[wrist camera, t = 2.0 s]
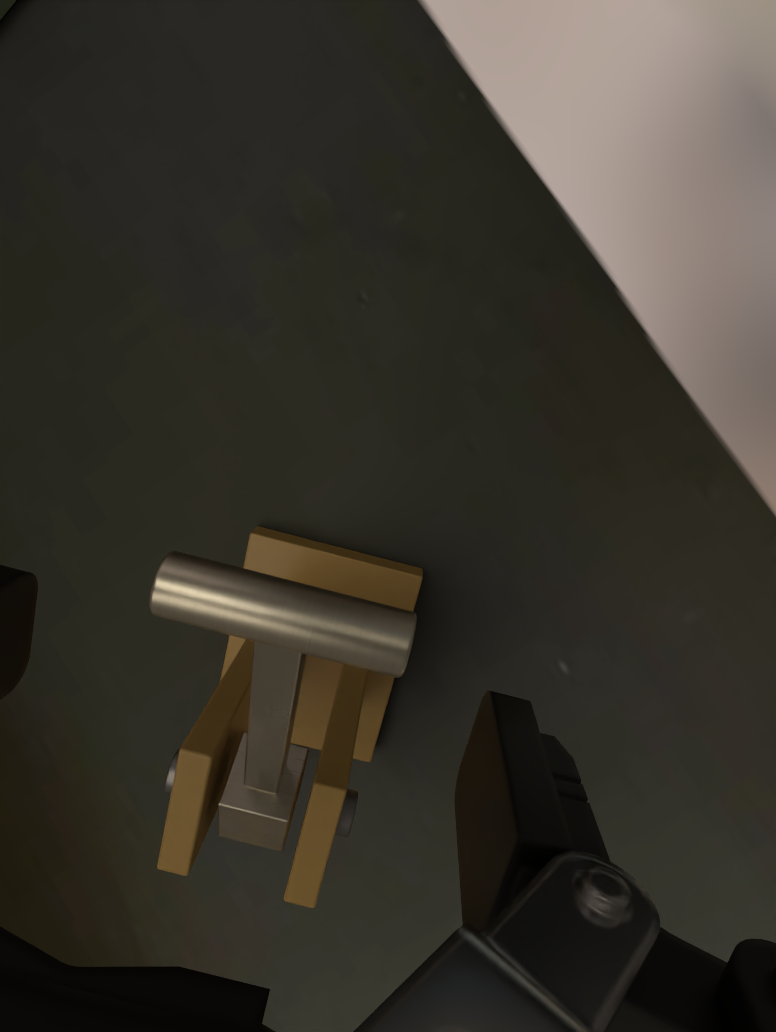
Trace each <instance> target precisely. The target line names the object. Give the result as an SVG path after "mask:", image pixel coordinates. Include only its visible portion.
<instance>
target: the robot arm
mask: <svg viewBox="0 0 776 1032" xmlns="http://www.w3.org/2000/svg"><path fill="white" fill-rule="evenodd" d="M37 590H38V583H37V579H36V576H35V575H34V574H33V573H30V572H26V571H22V570H18V569H14V568H10V567H6V566H2V565H0V700H1V699H2V698H4V697H5V696H6V695H7V694H8V693H10V692H11V691H12V690H13V689H14V688H15V686H16V685H17V684H18V682H19V681H20V679H21V678H22V676H23V674H24V672H25V669H26V667H27V664H28V661H29V657H30V650H31V642H32V633H33V625H34V616H35V608H36V599H37ZM587 799H588V798H587V795H586V792H585V790H584V787H583V785H582V784H581V779H580V776H579V773H578V770H577V767H576V765H575V762H574V759H573V758H572V756H571V755H570V754H569V753H568V752H567V751H566V749H565V748H564V747H563V746H562V745H561V744H560V742H559V741H558V740H557V739H556V738H555V737H554V736H550V735H546V734H542V733H540V732H539V728H538V725H537V721H536V718H535V715H534V711H533V708H532V705H531V702H530V701H528V700H524V699H520V698H516V697H512V696H509V695H505V694H501V693H497V692H493V691H487V692H486V693H485V695H484V696H483V699H482V701H481V704H480V707H479V710H478V713H477V716H476V719H475V722H474V725H473V728H472V731H471V734H470V738H469V741H468V744H467V747H466V750H465V753H464V756H463V759H462V762H461V765H460V769H459V773H458V777H457V783H456V790H455V815H456V830H457V845H458V860H459V875H460V890H461V904H462V919H463V925H462V926H461V927H460V928H458V929H457V930H456V931H455V932H454V933H453V934H452V935H451V936H450V937H449V938H448V939H447V940H446V941H445V942H444V943H443V944H442V945H441V946H440V947H439V948H438V949H437V950H436V951H435V952H434V953H433V954H432V955H430V956H429V957H428V958H427V959H426V960H425V961H424V962H423V963H422V964H421V965H420V966H419V967H418V968H417V969H416V970H415V971H414V972H413V973H412V974H411V975H410V976H409V977H408V978H407V979H406V980H405V981H404V982H403V983H402V984H401V985H400V986H399V987H398V988H397V989H396V990H395V991H394V992H393V993H392V994H391V995H390V996H389V997H388V998H387V999H386V1000H385V1001H384V1002H383V1003H382V1004H381V1005H380V1006H379V1007H378V1008H377V1009H376V1010H375V1011H374V1012H373V1013H372V1014H371V1015H370V1016H369V1017H368V1018H367V1019H366V1020H365V1021H364V1022H363V1023H362V1024H361V1025H360V1026H359V1027H358V1028H357V1029H356V1030H355V1031H353V1032H776V943H774V942H771V941H767V940H762V939H747V940H744V941H741V942H740V943H739V944H738V945H737V946H736V947H735V949H734V951H733V953H732V955H731V957H730V959H729V961H728V963H727V962H725V961H723V960H721V959H719V958H717V957H715V956H713V955H711V954H709V953H707V952H705V951H703V950H701V949H699V948H697V947H695V946H693V945H691V944H689V943H687V942H685V941H683V940H681V939H680V938H678V937H676V936H674V935H672V934H671V933H669V932H667V931H666V930H664V929H663V928H661V927H660V919H659V914H658V911H657V909H656V906H655V904H654V903H653V901H652V899H651V898H650V896H649V895H648V893H647V892H646V891H645V889H644V888H643V887H642V886H641V885H640V884H639V883H638V882H637V881H636V880H635V879H634V878H633V877H632V876H631V875H629V874H628V873H627V872H626V871H624V870H623V869H622V868H620V867H618V866H617V865H615V864H614V863H612V862H610V859H609V856H608V854H607V851H606V848H605V845H604V842H603V840H602V837H601V834H600V831H599V829H598V826H597V823H596V820H595V817H594V815H593V812H592V809H591V806H590V804H589V803H587ZM269 991H270V989H267V988H263V987H259V986H255V985H251V984H247V983H243V982H239V981H235V980H231V979H227V978H223V977H219V976H215V975H211V974H207V973H203V972H198V971H194V970H190V969H186V968H182V967H75V966H70V965H67V964H64V963H62V962H60V961H59V960H57V959H55V958H53V957H52V956H50V955H48V954H47V953H45V952H43V951H41V950H40V949H38V948H36V947H34V946H33V945H31V944H29V943H28V942H26V941H24V940H22V939H21V938H19V937H17V936H16V935H14V934H12V933H10V932H9V931H7V930H5V929H4V928H2V927H0V1032H275V1031H273V1030H272V1029H270V1028H268V1027H267V1026H265V1025H263V1024H262V1021H263V1017H264V1012H265V1008H266V1004H267V1000H268V996H269Z"/></svg>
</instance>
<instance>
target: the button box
mask: <svg viewBox="0 0 776 1032" xmlns="http://www.w3.org/2000/svg"><path fill="white" fill-rule="evenodd" d="M15 2H16V0H0V20H1V19H2V18H3V16H4V15H5V14H6V13H7V11H8V10H9V9H10V8H11V6H12V5H13V4H14V3H15Z"/></svg>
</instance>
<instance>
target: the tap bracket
mask: <svg viewBox="0 0 776 1032" xmlns="http://www.w3.org/2000/svg"><path fill="white" fill-rule="evenodd" d="M243 568H244V569H248V570H252V571H256V572H260V573H264V574H268V575H272V576H276V577H279V578H283V579H287V580H291V581H295V582H299V583H303V584H307V585H311V586H315V587H318V588H322V589H326V590H330V591H334V592H338V593H342V594H346V595H350V596H354V597H358V598H361V599H365V600H369V601H373V602H377V603H381V604H385V605H389V606H393V607H397V608H401V609H404V610H408V611H412V612H413V611H414V608H415V604H416V601H417V597H418V594H419V590H420V587H421V583H422V580H423V569H422V568H418V567H414V566H410V565H407V564H403V563H399V562H395V561H391V560H387V559H383V558H379V557H375V556H372V555H368V554H364V553H360V552H356V551H352V550H348V549H344V548H340V547H336V546H333V545H329V544H325V543H321V542H317V541H313V540H309V539H305V538H301V537H298V536H294V535H290V534H286V533H282V532H278V531H274V530H270V529H266V528H263V527H259V526H257V527H256V528H255V529H254V530H253V531H252V532H251V533H250V537H249V542H248V547H247V552H246V557H245V562H244V567H243ZM253 648H254V641H251V640H247V639H243V638H240V637H236V636H232V635H229V640H228V645H227V650H226V655H225V660H224V665H223V670H222V674H221V679H220V683H219V685H218V686H217V688H216V690H215V691H214V693H213V695H212V696H211V698H210V700H209V701H208V703H207V705H206V706H205V708H204V710H203V711H202V713H201V715H200V716H199V718H198V720H197V721H196V723H195V725H194V726H193V728H192V730H191V731H190V733H189V735H188V736H187V738H186V740H185V741H184V743H183V745H182V746H181V747H180V748H179V749H178V750H177V752H176V754H175V755H174V757H173V760H172V762H171V765H170V767H169V770H168V773H167V777H166V781H165V791H166V792H167V793H171V797H170V802H169V807H168V812H167V818H166V823H165V828H164V833H163V838H162V844H161V849H160V854H159V859H158V865H157V867H158V869H159V870H163V871H167V872H171V873H175V874H179V875H183V876H187V875H188V874H189V872H190V870H191V868H192V865H193V863H194V861H195V859H196V856H197V854H198V852H199V850H200V847H201V845H202V843H203V841H204V838H205V836H206V834H207V832H208V829H209V827H210V825H211V823H212V820H213V818H214V816H215V814H216V811H217V809H218V801H219V799H220V796H221V793H222V790H223V787H224V784H225V782H226V779H227V776H228V773H229V770H230V767H231V764H232V762H233V759H234V756H235V753H236V750H237V747H238V745H239V742H240V739H241V736H242V733H243V732H247V730H248V717H249V703H250V689H251V675H252V661H253ZM394 678H395V677H393V676H389V675H385V674H381V673H377V672H373V671H369V670H365V669H361V668H357V667H353V666H349V665H346V664H342V663H338V662H334V661H330V660H326V659H322V658H318V657H314V656H310V655H306V661H305V666H304V672H303V677H302V683H301V688H300V694H299V699H298V705H297V710H296V716H295V721H294V727H293V732H292V738H291V743H294V744H298V745H302V746H306V747H310V748H314V749H318V750H321V753H320V757H319V761H318V765H317V769H316V773H315V777H314V781H313V785H312V789H311V793H310V797H309V801H308V804H307V808H306V812H305V816H304V820H303V824H302V828H301V832H300V836H299V840H298V844H297V848H296V852H295V856H294V860H293V864H292V868H291V872H290V875H289V879H288V883H287V887H286V891H285V895H284V901H286V902H290V903H294V904H298V905H302V906H306V907H310V908H314V907H315V905H316V902H317V898H318V895H319V891H320V887H321V884H322V880H323V876H324V873H325V869H326V866H327V862H328V858H329V855H330V851H331V847H332V844H333V840H334V837H335V835H338V836H342V837H348V835H349V833H350V830H351V826H352V822H353V818H354V814H355V809H356V804H357V799H358V792H357V791H354V790H350V789H347V788H348V782H349V777H350V771H351V765H352V759H353V758H354V759H358V760H362V761H365V762H371V760H372V756H373V752H374V749H375V745H376V742H377V738H378V735H379V731H380V728H381V724H382V721H383V717H384V714H385V710H386V707H387V703H388V700H389V696H390V692H391V689H392V685H393V682H394Z"/></svg>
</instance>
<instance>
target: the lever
mask: <svg viewBox="0 0 776 1032" xmlns="http://www.w3.org/2000/svg"><path fill="white" fill-rule="evenodd" d="M149 606H150V611H151V613H152V614H153V615H154V616H157V617H161V618H165V619H169V620H173V621H177V622H181V623H185V624H188V625H192V626H196V627H200V628H204V629H208V630H212V631H216V632H220V633H224V634H228V635H232V636H236V637H240V638H243V639H247V640H251V641H254V648H253V661H252V675H251V689H250V703H249V717H248V730H247V732H243V733H242V736H241V739H240V742H239V745H238V747H237V750H236V753H235V756H234V759H233V762H232V764H231V767H230V770H229V773H228V776H227V779H226V782H225V784H224V787H223V790H222V793H221V796H220V799H219V801H218V835H219V836H221V837H225V838H229V839H233V840H237V841H241V842H245V843H249V844H253V845H257V846H261V847H265V848H269V849H273V850H277V851H283V849H284V846H285V842H286V838H287V834H288V831H289V827H290V823H291V820H292V816H293V812H294V808H295V805H296V801H297V797H298V794H299V790H300V786H301V782H302V778H303V774H304V769H305V765H306V761H307V756H308V752H309V748H308V747H304V746H301V745H297V744H293V743H291V738H292V732H293V727H294V721H295V716H296V710H297V705H298V699H299V694H300V688H301V683H302V677H303V672H304V666H305V661H306V655H310V656H314V657H318V658H322V659H326V660H330V661H334V662H338V663H342V664H346V665H349V666H353V667H357V668H361V669H365V670H369V671H373V672H377V673H381V674H385V675H389V676H393V677H397V678H399V677H402V675H403V674H404V672H405V669H406V667H407V663H408V660H409V657H410V653H411V649H412V645H413V640H414V636H415V631H416V624H417V616H416V613H414V612H412V611H408V610H404V609H401V608H397V607H393V606H389V605H385V604H381V603H377V602H373V601H369V600H365V599H361V598H358V597H354V596H350V595H346V594H342V593H338V592H334V591H330V590H326V589H322V588H318V587H315V586H311V585H307V584H303V583H299V582H295V581H291V580H287V579H283V578H279V577H276V576H272V575H268V574H264V573H260V572H256V571H252V570H248V569H244V568H240V567H236V566H233V565H229V564H225V563H221V562H217V561H213V560H209V559H205V558H201V557H197V556H193V555H190V554H186V553H182V552H178V551H171V552H169V553H168V554H167V555H166V556H165V557H164V559H163V560H162V562H161V564H160V565H159V567H158V570H157V572H156V574H155V577H154V580H153V583H152V587H151V592H150V601H149Z"/></svg>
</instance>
